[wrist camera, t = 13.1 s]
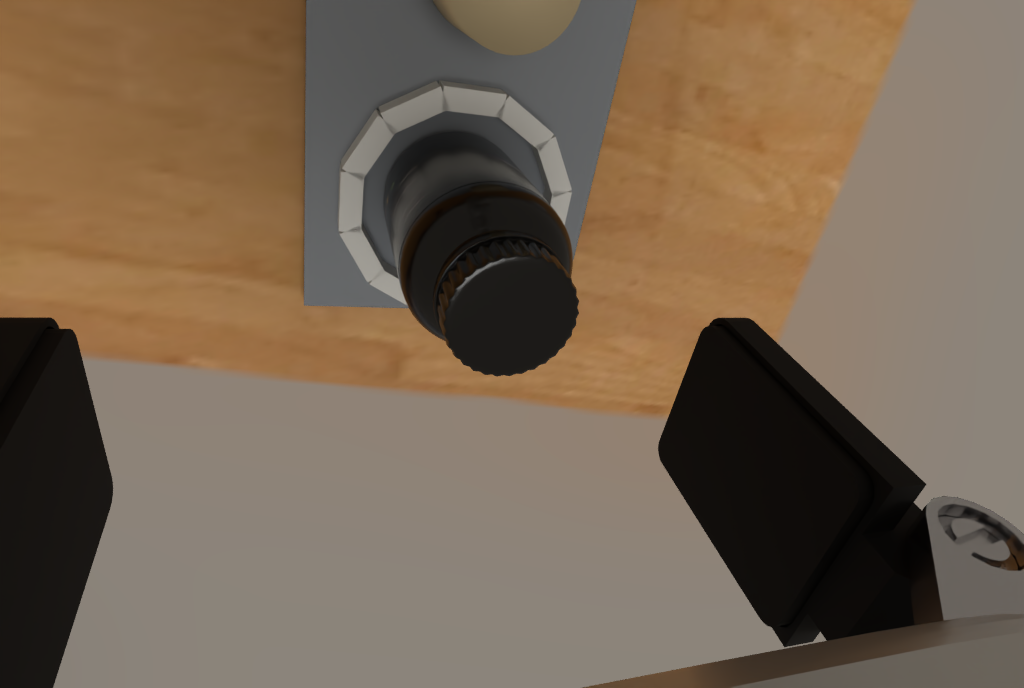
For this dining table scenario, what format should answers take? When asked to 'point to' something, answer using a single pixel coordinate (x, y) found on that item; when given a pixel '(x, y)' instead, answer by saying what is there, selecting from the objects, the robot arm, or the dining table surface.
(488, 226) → the supplement bottle
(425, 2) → the board
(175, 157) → the dining table surface
